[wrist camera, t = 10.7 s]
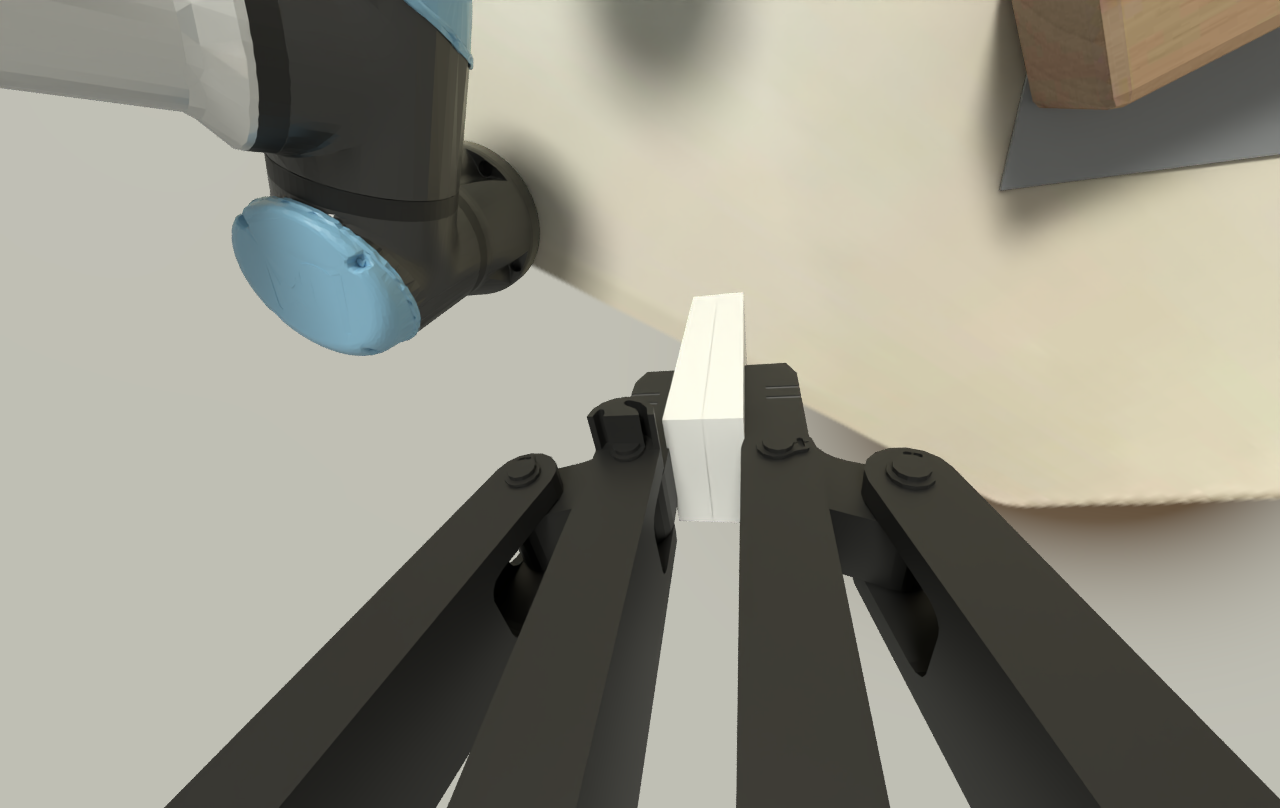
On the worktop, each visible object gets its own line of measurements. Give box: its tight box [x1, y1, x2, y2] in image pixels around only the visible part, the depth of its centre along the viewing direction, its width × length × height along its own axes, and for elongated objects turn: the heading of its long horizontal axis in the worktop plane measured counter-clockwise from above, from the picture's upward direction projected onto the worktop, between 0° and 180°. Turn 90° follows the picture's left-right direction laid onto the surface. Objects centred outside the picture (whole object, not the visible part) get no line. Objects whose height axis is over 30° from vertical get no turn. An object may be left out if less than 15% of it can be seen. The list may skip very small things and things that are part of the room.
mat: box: [999, 27, 1280, 191], centre depth 32 cm, size 20×16×1 cm
